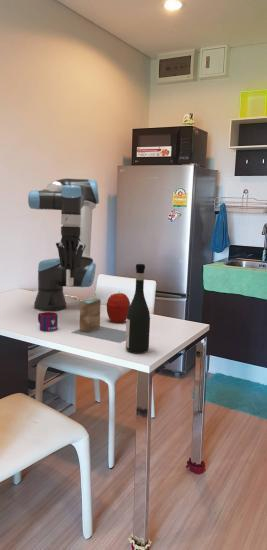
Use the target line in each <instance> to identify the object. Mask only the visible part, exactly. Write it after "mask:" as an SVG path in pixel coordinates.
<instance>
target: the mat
mask: <svg viewBox="0 0 267 550" xmlns="http://www.w3.org/2000/svg"><path fill="white" fill-rule="evenodd" d="M71 334H75V335H76V334H77V335H80V336H85V337H90V338H94V339H99V340H105V341H109V342H114V343H118V344H121V343H123V342H126V330H123V329H117V328H110V327H106V326H101V325H100V329H98V330H95V331H93V332H90V333H84V332H80V328H79V329H77V330H73V331H71Z"/></svg>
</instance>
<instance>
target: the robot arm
mask: <svg viewBox="0 0 267 550" xmlns="http://www.w3.org/2000/svg"><path fill="white" fill-rule="evenodd" d="M98 188H99V186H98V182H97V181H96V180H95V179H90V178H87V179H85V178H60V179H56V180H55V181H51V182H50V183H48V184H47V186H46V187H45V188H43V189H42V190H41V189H40V190H37V189H35V190H30V191H29V193H28V198H27V199H28V200H27V203H28V206H29V208H30V209H32V210H38V211H39V210H47V211H48V210H51V211H53V210H54V211H61V216H60V217H61V221H60V224H61V227H60V235H61V239H60V241H59V242H56V243H55V246H56V248H57V251H58V252H57V253H58V258H50V259H44V260H40V261H39V263H38V267H37V274H38V275H37V288H38V290H37V294H36V297H35V301H34V305H33V307H34V309H35V310H38V311H42V312H55V311H61V310H62V311H63V310H65V309H67V300H66V297H65V295H64V294H65V293H64V287H70V288H71V287H72V288H73V287H74V288H90V287H92V285H93V284H94V280H95V275H96V268H97V263H96V262H94V258H92V257H91V245H92V243H91V242H92V229H93V228H92V226H93V225H92V224H93V211H94V209H96V206H97V205H98V204H100V199H99V197H100V196H99V189H98Z"/></svg>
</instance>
